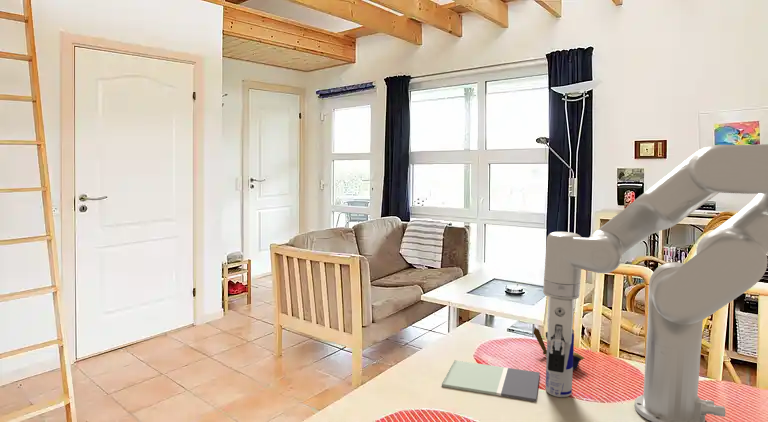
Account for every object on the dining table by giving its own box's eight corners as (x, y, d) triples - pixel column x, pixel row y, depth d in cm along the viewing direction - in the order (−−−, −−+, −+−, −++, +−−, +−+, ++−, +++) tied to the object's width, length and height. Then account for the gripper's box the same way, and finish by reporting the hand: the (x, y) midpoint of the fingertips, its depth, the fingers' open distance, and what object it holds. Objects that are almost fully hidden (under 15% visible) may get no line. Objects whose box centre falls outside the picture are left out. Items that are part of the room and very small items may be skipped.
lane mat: (539, 374, 120) (539, 372, 119) (536, 401, 106) (536, 399, 106) (454, 362, 127) (454, 360, 127) (441, 386, 114) (441, 383, 114)
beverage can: (573, 399, 107) (576, 333, 106) (547, 397, 108) (549, 332, 107) (569, 388, 113) (572, 325, 111) (544, 385, 114) (546, 323, 112)
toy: (565, 327, 135) (589, 350, 120) (562, 349, 136) (586, 375, 121) (532, 325, 135) (552, 348, 120) (529, 347, 136) (549, 373, 121)
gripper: (580, 301, 99) (574, 381, 101) (578, 280, 115) (573, 350, 117) (541, 296, 101) (536, 375, 103) (545, 277, 117) (540, 345, 119)
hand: (556, 362), depth 110 cm, fingers open, 9 cm apart
